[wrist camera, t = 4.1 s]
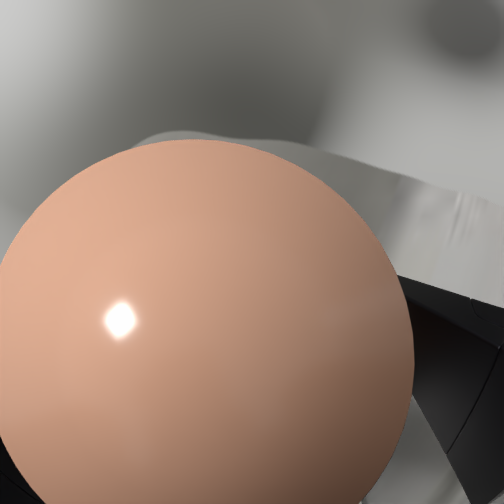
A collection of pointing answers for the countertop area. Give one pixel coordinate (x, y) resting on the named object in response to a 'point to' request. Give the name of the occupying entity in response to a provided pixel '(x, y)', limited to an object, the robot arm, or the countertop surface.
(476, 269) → the countertop surface
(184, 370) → the salmon tan cylinder
